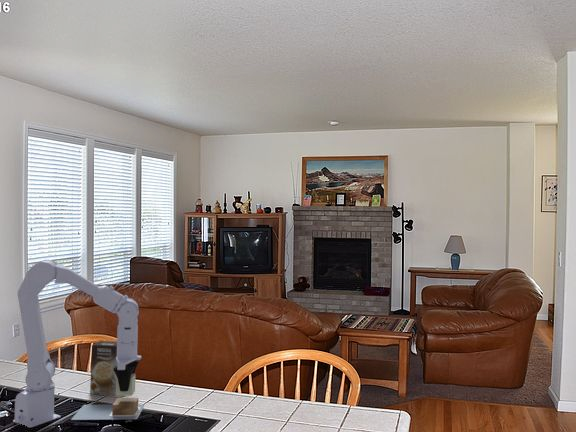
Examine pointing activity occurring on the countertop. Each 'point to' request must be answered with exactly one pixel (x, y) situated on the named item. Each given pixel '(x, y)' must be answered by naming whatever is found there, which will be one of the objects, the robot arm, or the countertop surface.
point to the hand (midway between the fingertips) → (126, 388)
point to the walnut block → (125, 406)
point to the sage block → (130, 390)
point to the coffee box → (103, 368)
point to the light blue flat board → (103, 413)
